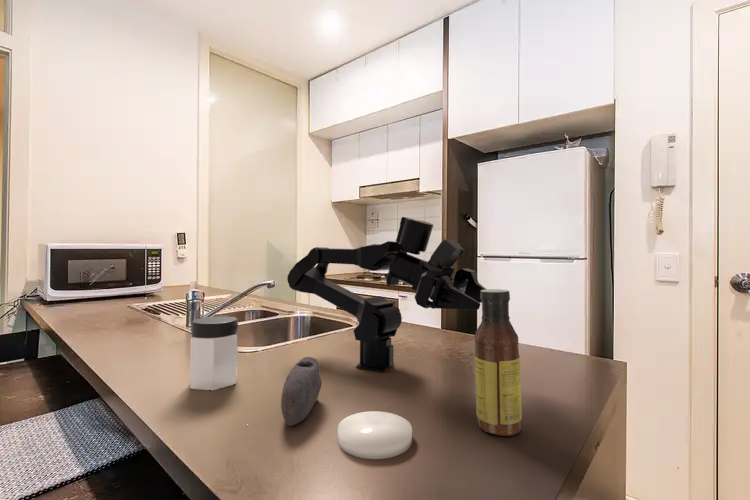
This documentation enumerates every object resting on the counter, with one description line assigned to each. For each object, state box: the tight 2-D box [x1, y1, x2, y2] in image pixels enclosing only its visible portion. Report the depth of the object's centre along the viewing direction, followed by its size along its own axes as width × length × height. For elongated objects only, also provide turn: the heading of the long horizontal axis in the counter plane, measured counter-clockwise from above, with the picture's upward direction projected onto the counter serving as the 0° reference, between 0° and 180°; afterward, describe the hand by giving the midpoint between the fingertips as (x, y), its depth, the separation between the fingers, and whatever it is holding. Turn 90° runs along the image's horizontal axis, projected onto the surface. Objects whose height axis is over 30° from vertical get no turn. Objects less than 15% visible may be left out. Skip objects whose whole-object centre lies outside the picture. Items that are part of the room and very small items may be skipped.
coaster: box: [337, 410, 413, 460], centre depth 50 cm, size 10×10×2 cm
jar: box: [189, 315, 239, 392], centre depth 70 cm, size 9×8×12 cm
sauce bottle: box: [474, 288, 523, 437], centre depth 53 cm, size 6×6×20 cm
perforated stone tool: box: [280, 356, 323, 427], centre depth 58 cm, size 15×5×7 cm, turn 177°
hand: (489, 303), depth 66 cm, fingers open, 9 cm apart
